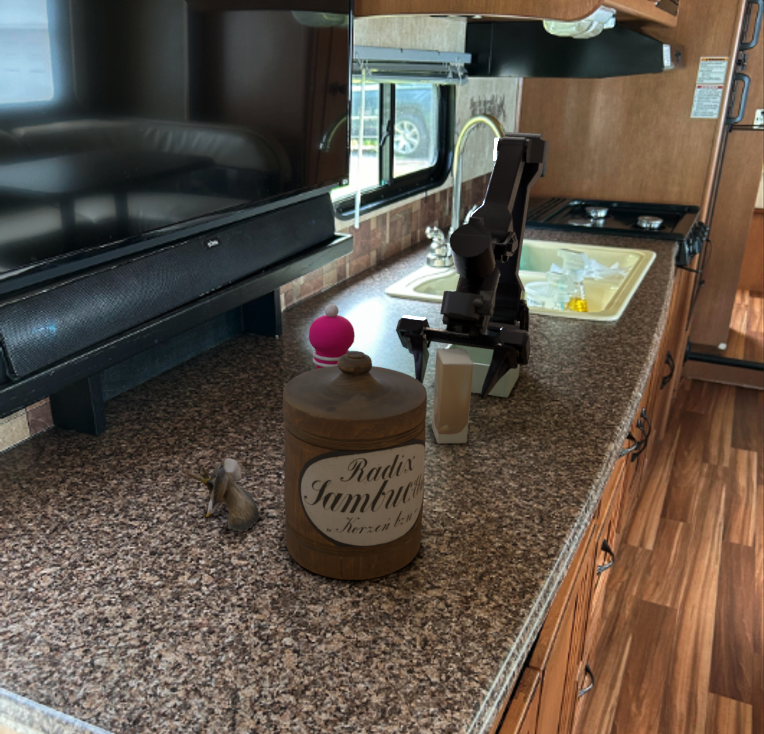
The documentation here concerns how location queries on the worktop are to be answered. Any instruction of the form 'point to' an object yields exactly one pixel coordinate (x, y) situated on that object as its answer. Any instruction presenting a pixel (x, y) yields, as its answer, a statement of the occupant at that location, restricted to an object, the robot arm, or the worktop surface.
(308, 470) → the wooden container
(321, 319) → the pepper mill
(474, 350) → the bin
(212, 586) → the worktop surface
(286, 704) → the worktop surface
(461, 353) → the cosmetic box
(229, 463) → the eagle figurine
